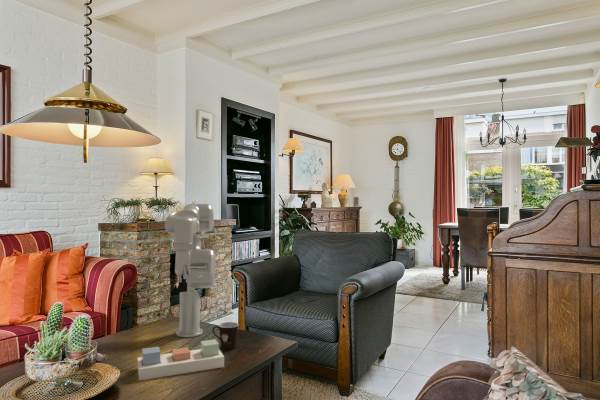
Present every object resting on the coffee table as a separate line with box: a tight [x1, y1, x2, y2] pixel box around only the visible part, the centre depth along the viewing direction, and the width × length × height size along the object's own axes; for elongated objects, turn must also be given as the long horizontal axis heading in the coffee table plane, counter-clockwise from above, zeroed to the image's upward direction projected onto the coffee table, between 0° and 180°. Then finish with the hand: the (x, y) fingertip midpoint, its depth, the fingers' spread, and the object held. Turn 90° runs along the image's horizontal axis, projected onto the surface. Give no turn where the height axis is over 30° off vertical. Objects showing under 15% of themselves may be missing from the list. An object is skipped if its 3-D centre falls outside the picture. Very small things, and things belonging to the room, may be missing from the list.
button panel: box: [136, 348, 225, 381], centre depth 158 cm, size 12×31×4 cm, turn 115°
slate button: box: [141, 346, 161, 366], centre depth 154 cm, size 6×6×5 cm
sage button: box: [200, 339, 220, 357], centre depth 163 cm, size 6×6×5 cm
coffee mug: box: [212, 321, 239, 351], centre depth 182 cm, size 12×9×10 cm
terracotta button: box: [171, 346, 190, 361], centre depth 158 cm, size 6×6×5 cm
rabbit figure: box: [97, 352, 109, 362], centre depth 163 cm, size 6×6×15 cm
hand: (182, 291), depth 170 cm, fingers closed
